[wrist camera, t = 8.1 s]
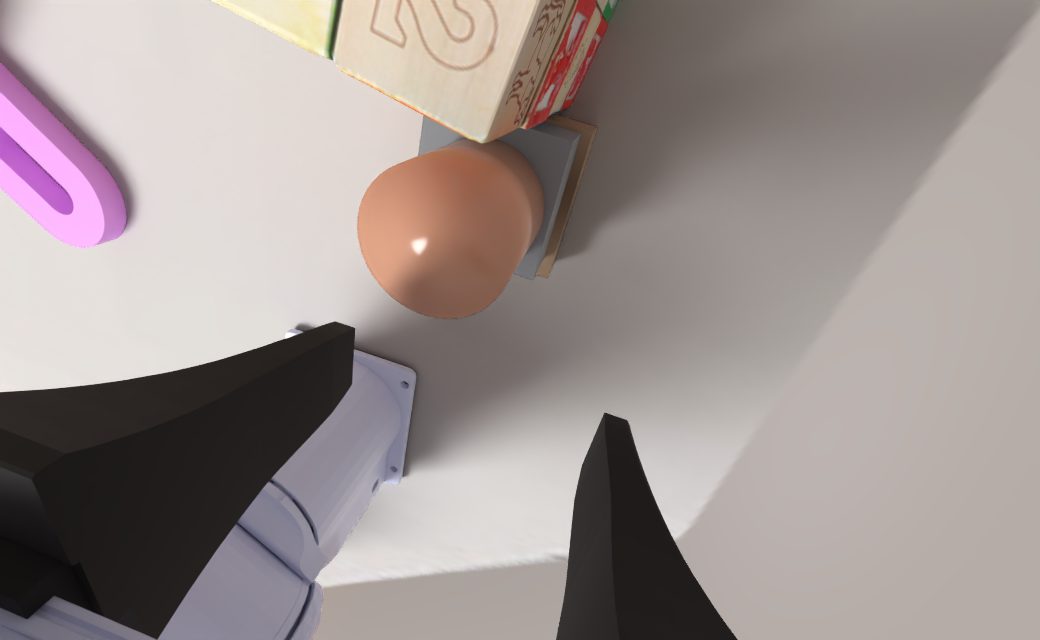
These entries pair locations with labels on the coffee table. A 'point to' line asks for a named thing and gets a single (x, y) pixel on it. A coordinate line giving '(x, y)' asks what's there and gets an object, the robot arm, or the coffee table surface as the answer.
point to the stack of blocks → (451, 52)
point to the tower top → (548, 157)
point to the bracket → (54, 172)
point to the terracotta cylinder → (451, 226)
